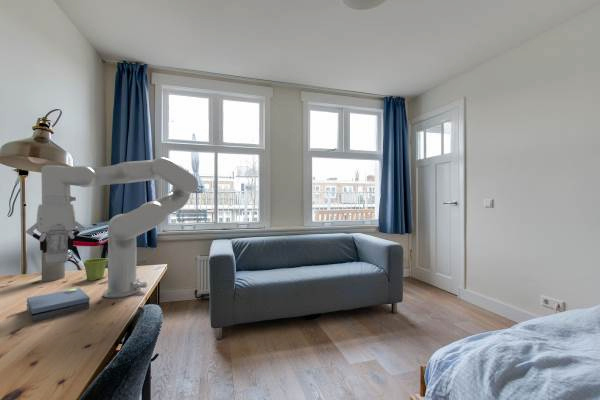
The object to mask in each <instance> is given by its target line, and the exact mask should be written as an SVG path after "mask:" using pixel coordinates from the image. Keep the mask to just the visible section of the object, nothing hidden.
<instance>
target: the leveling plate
mask: <svg viewBox="0 0 600 400" xmlns="http://www.w3.org/2000/svg"><path fill="white" fill-rule="evenodd" d="M90 300H91V299H90V296H89V295H88V294H87V293H86V292H84V291H83V290H82V289H81V288H69V289H66V290H63V291H62V290H61V291H57V292H51V293H45V294H40V295H35V296H29V297H26V303H27V304H28V306H29V308H30V310H31V313H32V314H35V313H39V312H44V311H49V310H53V309H58V308H62V307H67V306H72V305H76V304H81V303H86V302H89V303H90ZM27 304H26V305H27Z"/></svg>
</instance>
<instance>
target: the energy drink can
mask: <svg viewBox="0 0 600 400" xmlns="http://www.w3.org/2000/svg"><path fill="white" fill-rule="evenodd" d="M68 237H69V235H68V233H67V231H66V230H65V226H64V225H62V224H54V225H52V226H51V227H50V229H49V232H48V233H47V235H46V237H45V241H46V252H45V257H46V262H47V263H48V265H56V264H62V263H65V264H66V263H67V261H68V260H69V250H68Z"/></svg>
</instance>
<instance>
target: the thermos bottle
mask: <svg viewBox="0 0 600 400" xmlns="http://www.w3.org/2000/svg"><path fill="white" fill-rule="evenodd" d="M65 277H66V263H62V264H56V265H48V263H47V262H46V257H45V253H43V250H41V281H42V282H52V281H53V282H54V281H58V280H62V279H64V278H65Z"/></svg>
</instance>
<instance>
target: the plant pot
mask: <svg viewBox="0 0 600 400" xmlns="http://www.w3.org/2000/svg"><path fill="white" fill-rule="evenodd" d="M82 263H83V266H84V270H85V275H86V281H87V280H88V281H97V280H102V279H103V278H104V275H105V269H106V264H108V257H106V258H103V257H98V258H90V259H86V260H85V259H84V260H83V261H82Z"/></svg>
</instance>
